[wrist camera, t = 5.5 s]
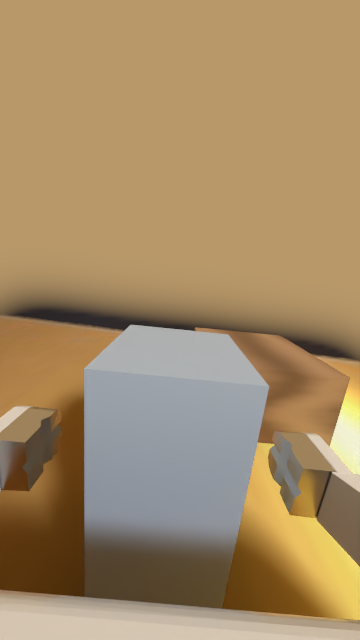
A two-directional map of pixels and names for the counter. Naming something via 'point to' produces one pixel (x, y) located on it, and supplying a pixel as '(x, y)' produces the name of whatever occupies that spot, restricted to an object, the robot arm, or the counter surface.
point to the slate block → (167, 464)
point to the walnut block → (292, 385)
